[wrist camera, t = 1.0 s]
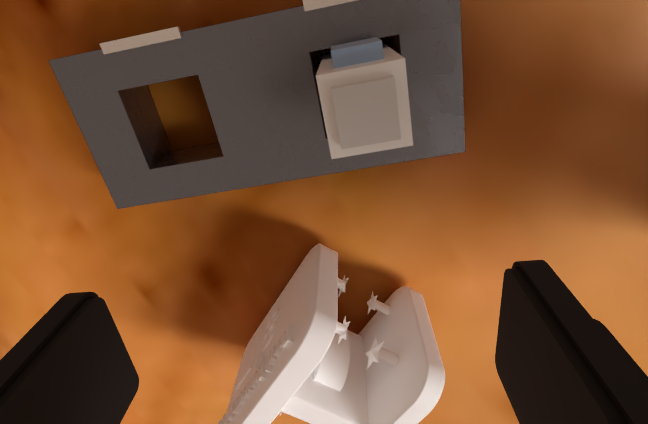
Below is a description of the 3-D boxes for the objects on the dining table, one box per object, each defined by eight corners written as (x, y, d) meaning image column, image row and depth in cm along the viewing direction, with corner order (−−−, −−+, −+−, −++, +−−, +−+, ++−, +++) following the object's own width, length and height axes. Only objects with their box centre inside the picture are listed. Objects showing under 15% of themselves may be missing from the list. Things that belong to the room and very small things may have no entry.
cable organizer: (333, 382, 41) (331, 507, 31) (240, 341, 39) (204, 461, 29) (420, 280, 35) (454, 394, 25) (315, 226, 33) (304, 324, 23)
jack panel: (441, -28, 24) (460, -35, 21) (449, 134, 29) (466, 152, 25) (84, 49, 27) (43, 55, 23) (142, 186, 32) (115, 210, 28)
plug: (381, 29, 26) (405, 39, 17) (389, 102, 28) (415, 149, 19) (321, 41, 27) (311, 58, 17) (334, 113, 29) (331, 163, 19)
